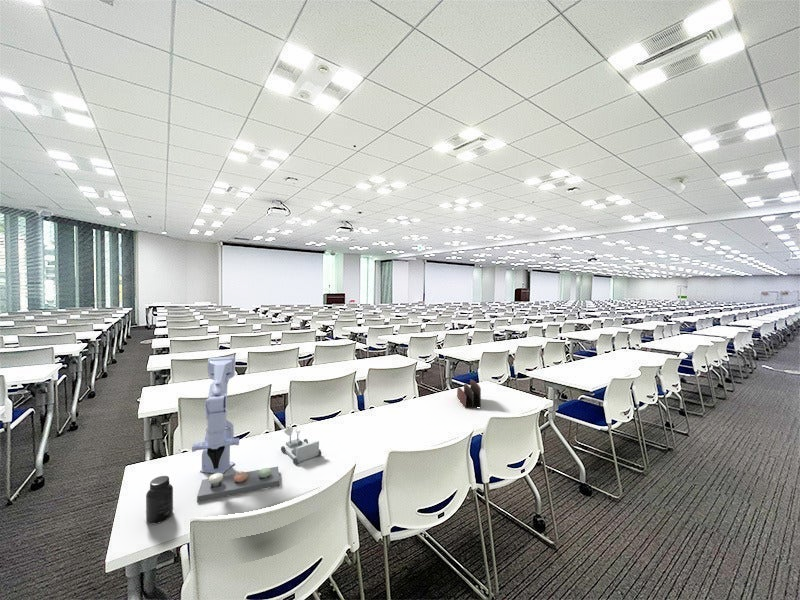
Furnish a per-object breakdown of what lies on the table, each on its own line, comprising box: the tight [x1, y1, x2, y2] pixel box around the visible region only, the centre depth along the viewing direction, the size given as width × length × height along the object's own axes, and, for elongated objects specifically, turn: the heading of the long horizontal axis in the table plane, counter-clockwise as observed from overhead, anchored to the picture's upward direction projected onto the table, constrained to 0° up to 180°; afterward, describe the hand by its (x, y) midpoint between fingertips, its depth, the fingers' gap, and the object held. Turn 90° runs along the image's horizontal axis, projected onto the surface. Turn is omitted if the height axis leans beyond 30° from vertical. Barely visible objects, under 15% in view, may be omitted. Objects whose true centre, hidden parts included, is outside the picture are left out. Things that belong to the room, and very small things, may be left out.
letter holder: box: [456, 378, 482, 409], centre depth 212 cm, size 10×20×14 cm, turn 5°
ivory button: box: [208, 473, 224, 487], centre depth 117 cm, size 4×4×3 cm
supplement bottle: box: [145, 475, 174, 524], centre depth 103 cm, size 7×7×12 cm
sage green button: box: [258, 467, 271, 479], centre depth 123 cm, size 4×4×3 cm
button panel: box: [196, 466, 280, 502], centre depth 120 cm, size 26×10×2 cm, turn 113°
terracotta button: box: [234, 471, 248, 483], centre depth 120 cm, size 4×4×3 cm
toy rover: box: [280, 426, 322, 466], centre depth 144 cm, size 18×10×12 cm
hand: (216, 467), depth 117 cm, fingers closed
